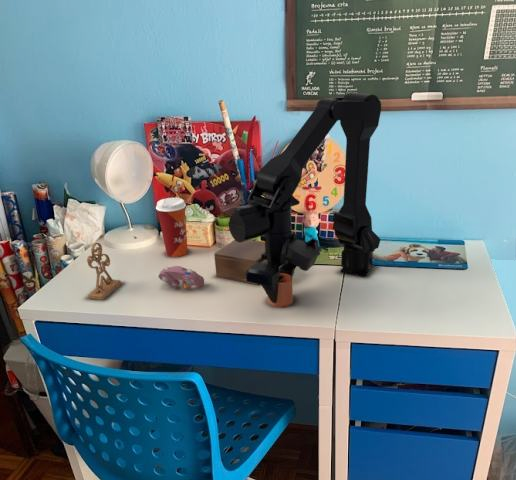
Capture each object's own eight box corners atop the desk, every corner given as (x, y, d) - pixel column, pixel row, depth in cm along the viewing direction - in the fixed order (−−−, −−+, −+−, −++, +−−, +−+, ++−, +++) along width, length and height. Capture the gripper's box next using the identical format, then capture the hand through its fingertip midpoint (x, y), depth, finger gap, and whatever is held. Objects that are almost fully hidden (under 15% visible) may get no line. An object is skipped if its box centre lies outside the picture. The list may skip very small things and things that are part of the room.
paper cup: (186, 258, 153) (179, 206, 146) (158, 258, 155) (150, 206, 147) (195, 247, 160) (189, 196, 152) (168, 246, 161) (161, 196, 154)
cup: (297, 298, 131) (296, 275, 128) (285, 308, 127) (285, 285, 124) (275, 293, 133) (274, 271, 130) (263, 304, 129) (262, 281, 126)
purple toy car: (163, 292, 140) (153, 273, 135) (170, 277, 142) (160, 258, 137) (200, 296, 137) (192, 278, 131) (207, 281, 139) (198, 262, 134)
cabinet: (278, 267, 145) (278, 244, 142) (257, 284, 137) (256, 260, 134) (238, 260, 150) (237, 238, 147) (216, 276, 143) (214, 253, 139)
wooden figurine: (107, 282, 143) (97, 235, 137) (121, 283, 142) (112, 236, 136) (88, 298, 136) (77, 250, 130) (103, 300, 135) (92, 251, 129)
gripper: (292, 251, 111) (294, 323, 119) (331, 219, 124) (331, 286, 133) (241, 242, 116) (246, 312, 124) (285, 213, 129) (287, 278, 137)
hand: (280, 296), depth 129 cm, fingers closed on cup, 5 cm apart
